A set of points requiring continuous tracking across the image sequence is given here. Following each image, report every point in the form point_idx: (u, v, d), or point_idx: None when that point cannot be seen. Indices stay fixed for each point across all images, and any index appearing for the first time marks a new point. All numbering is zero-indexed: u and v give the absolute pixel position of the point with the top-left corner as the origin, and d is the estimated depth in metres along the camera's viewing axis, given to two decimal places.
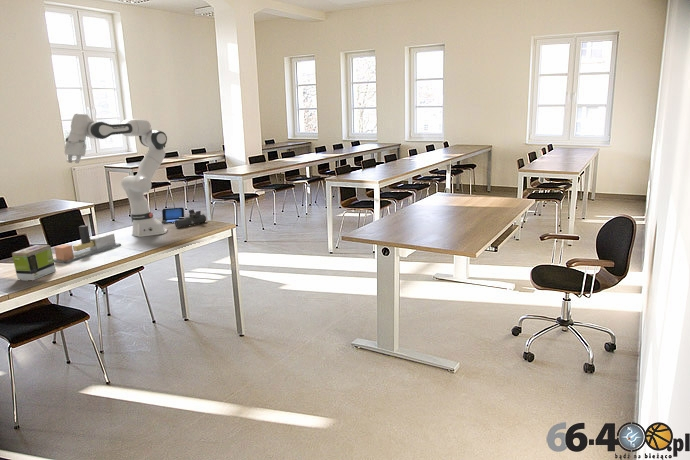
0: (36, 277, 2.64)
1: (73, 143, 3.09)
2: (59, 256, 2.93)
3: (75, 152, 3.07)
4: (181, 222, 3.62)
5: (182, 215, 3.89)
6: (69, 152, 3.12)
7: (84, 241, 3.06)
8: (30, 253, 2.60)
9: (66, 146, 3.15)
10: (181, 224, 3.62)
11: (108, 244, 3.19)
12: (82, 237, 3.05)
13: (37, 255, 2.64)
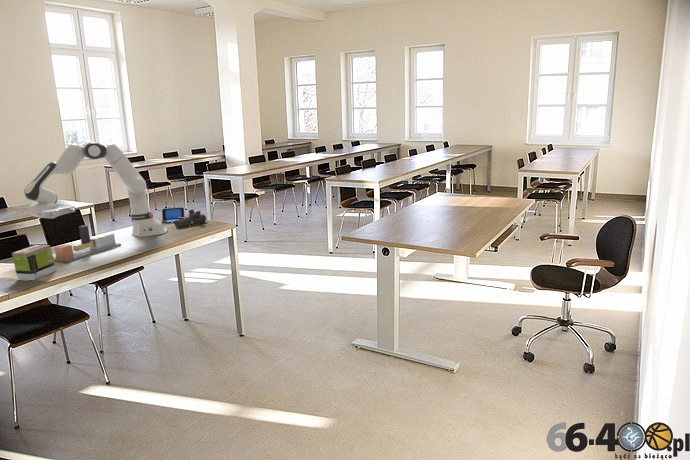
0: (36, 277, 2.64)
1: None
2: (59, 256, 2.93)
3: None
4: (181, 222, 3.62)
5: (182, 215, 3.89)
6: (64, 213, 3.14)
7: (84, 241, 3.06)
8: (30, 253, 2.60)
9: None
10: (181, 224, 3.62)
11: (108, 244, 3.19)
12: (82, 237, 3.05)
13: (37, 255, 2.64)
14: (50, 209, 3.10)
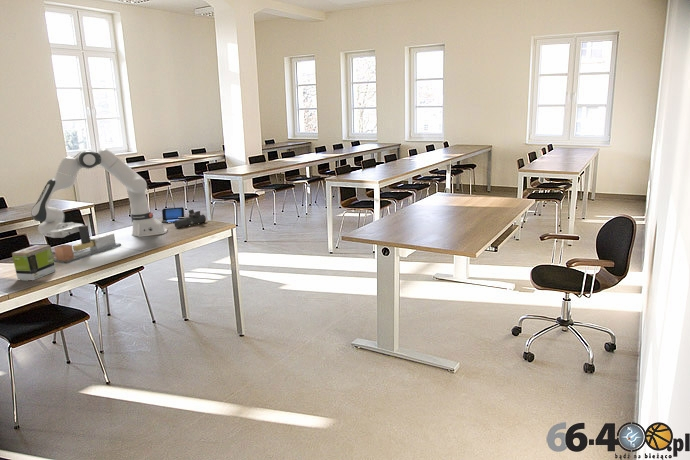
0: (36, 277, 2.64)
1: None
2: (59, 256, 2.93)
3: None
4: (180, 222, 3.62)
5: (182, 215, 3.90)
6: None
7: (84, 241, 3.06)
8: (30, 253, 2.60)
9: None
10: (180, 224, 3.62)
11: (108, 244, 3.19)
12: (82, 237, 3.05)
13: (37, 255, 2.64)
14: (60, 228, 3.10)
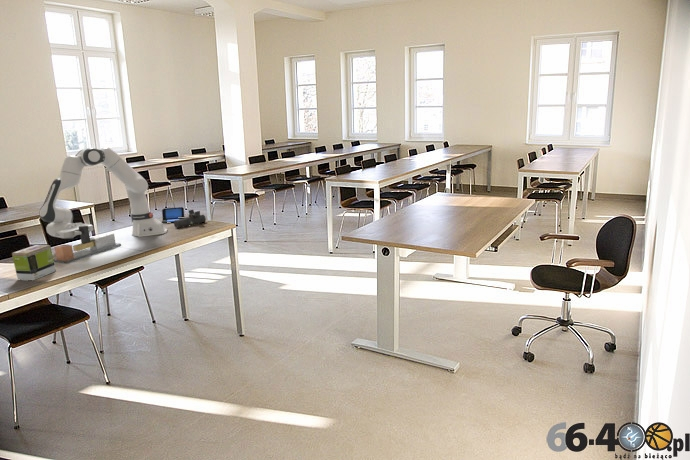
0: (36, 277, 2.64)
1: None
2: (59, 256, 2.93)
3: None
4: (180, 222, 3.62)
5: (182, 215, 3.90)
6: None
7: (84, 241, 3.06)
8: (30, 253, 2.60)
9: None
10: (180, 224, 3.62)
11: (108, 244, 3.19)
12: (82, 237, 3.05)
13: (37, 255, 2.64)
14: (68, 229, 3.07)
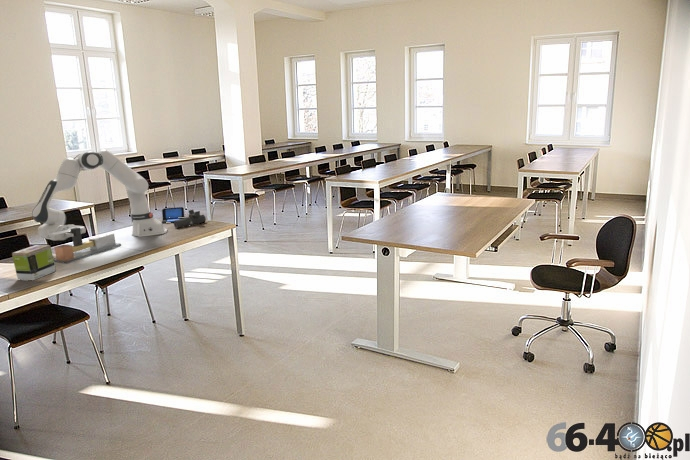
0: (36, 277, 2.64)
1: None
2: (59, 256, 2.93)
3: None
4: (180, 222, 3.62)
5: (182, 215, 3.91)
6: None
7: (76, 243, 3.01)
8: (30, 253, 2.60)
9: None
10: (180, 224, 3.62)
11: (108, 244, 3.19)
12: (74, 239, 3.01)
13: (37, 255, 2.64)
14: (60, 231, 3.02)
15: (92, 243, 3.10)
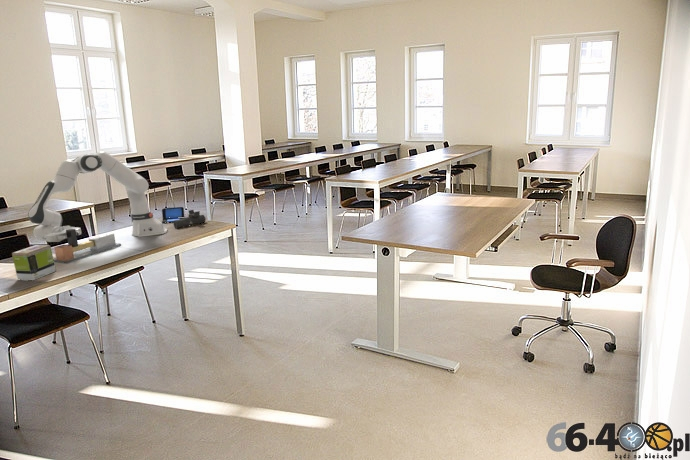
0: (36, 277, 2.64)
1: None
2: (59, 256, 2.93)
3: None
4: (179, 222, 3.61)
5: (182, 214, 3.91)
6: None
7: None
8: (30, 253, 2.60)
9: None
10: (179, 224, 3.61)
11: (108, 244, 3.19)
12: (69, 241, 2.98)
13: (37, 255, 2.64)
14: (55, 232, 3.00)
15: (88, 244, 3.07)
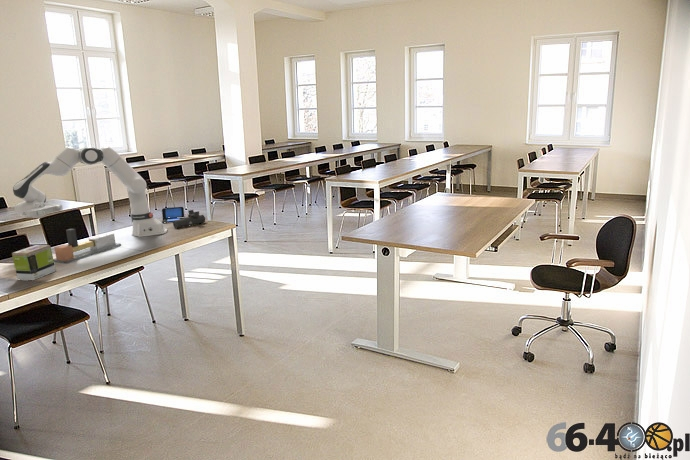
0: (36, 277, 2.64)
1: None
2: (59, 256, 2.93)
3: (38, 215, 2.99)
4: (179, 222, 3.61)
5: (182, 214, 3.92)
6: (51, 212, 3.06)
7: None
8: (30, 253, 2.60)
9: None
10: (179, 224, 3.61)
11: (108, 244, 3.19)
12: (69, 241, 2.98)
13: (37, 255, 2.64)
14: (36, 208, 3.02)
15: (88, 244, 3.07)
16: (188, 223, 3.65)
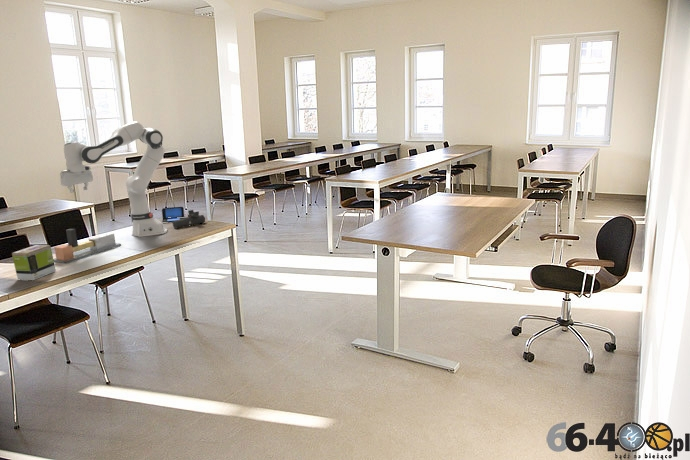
0: (36, 277, 2.64)
1: None
2: (59, 256, 2.93)
3: None
4: (178, 222, 3.61)
5: (182, 214, 3.93)
6: None
7: None
8: (30, 253, 2.60)
9: None
10: (178, 224, 3.61)
11: (108, 244, 3.19)
12: (69, 241, 2.98)
13: (37, 255, 2.64)
14: (74, 175, 3.16)
15: (88, 244, 3.07)
16: (188, 223, 3.65)
